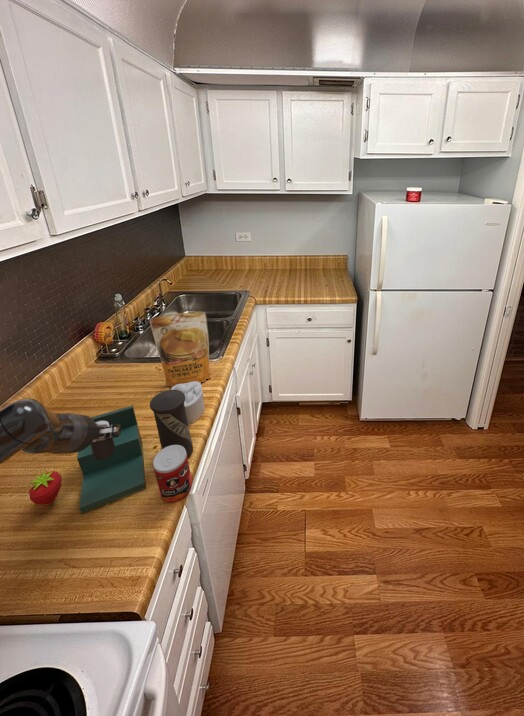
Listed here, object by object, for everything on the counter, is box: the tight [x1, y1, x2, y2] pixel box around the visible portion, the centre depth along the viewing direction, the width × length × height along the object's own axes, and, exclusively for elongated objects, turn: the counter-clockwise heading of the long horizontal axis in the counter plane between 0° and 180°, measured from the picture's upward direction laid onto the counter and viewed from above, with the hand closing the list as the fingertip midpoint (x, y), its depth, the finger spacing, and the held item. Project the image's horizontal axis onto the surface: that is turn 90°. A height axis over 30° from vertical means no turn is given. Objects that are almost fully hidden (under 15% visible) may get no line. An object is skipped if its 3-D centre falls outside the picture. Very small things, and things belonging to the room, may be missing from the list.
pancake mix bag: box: [148, 310, 212, 388], centre depth 122 cm, size 7×19×28 cm, turn 107°
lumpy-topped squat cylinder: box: [170, 381, 206, 426], centre depth 110 cm, size 10×13×9 cm
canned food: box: [152, 445, 193, 503], centre depth 83 cm, size 8×8×11 cm
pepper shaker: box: [90, 421, 116, 460], centre depth 81 cm, size 5×5×8 cm
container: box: [149, 389, 194, 459], centre depth 92 cm, size 9×9×20 cm
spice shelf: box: [76, 404, 147, 514], centre depth 87 cm, size 14×17×14 cm
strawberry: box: [28, 470, 63, 506], centre depth 80 cm, size 6×8×10 cm
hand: (104, 434), depth 83 cm, fingers closed on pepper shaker, 4 cm apart
